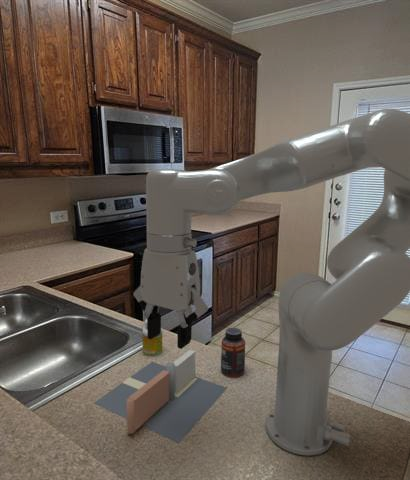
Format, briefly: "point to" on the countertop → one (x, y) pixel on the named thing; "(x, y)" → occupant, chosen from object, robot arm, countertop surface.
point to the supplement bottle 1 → (151, 343)
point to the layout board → (170, 410)
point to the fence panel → (147, 401)
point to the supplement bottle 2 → (233, 353)
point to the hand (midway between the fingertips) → (168, 339)
